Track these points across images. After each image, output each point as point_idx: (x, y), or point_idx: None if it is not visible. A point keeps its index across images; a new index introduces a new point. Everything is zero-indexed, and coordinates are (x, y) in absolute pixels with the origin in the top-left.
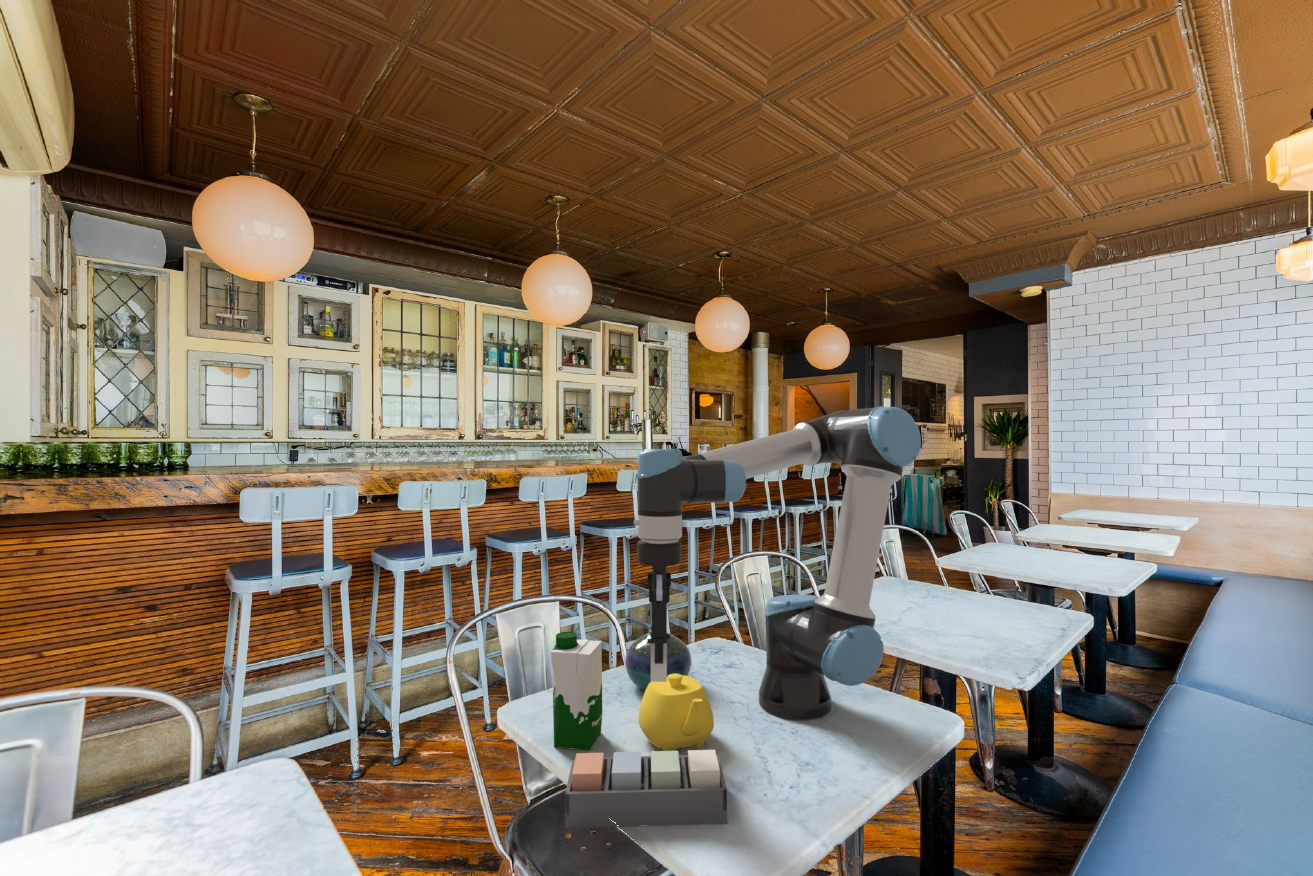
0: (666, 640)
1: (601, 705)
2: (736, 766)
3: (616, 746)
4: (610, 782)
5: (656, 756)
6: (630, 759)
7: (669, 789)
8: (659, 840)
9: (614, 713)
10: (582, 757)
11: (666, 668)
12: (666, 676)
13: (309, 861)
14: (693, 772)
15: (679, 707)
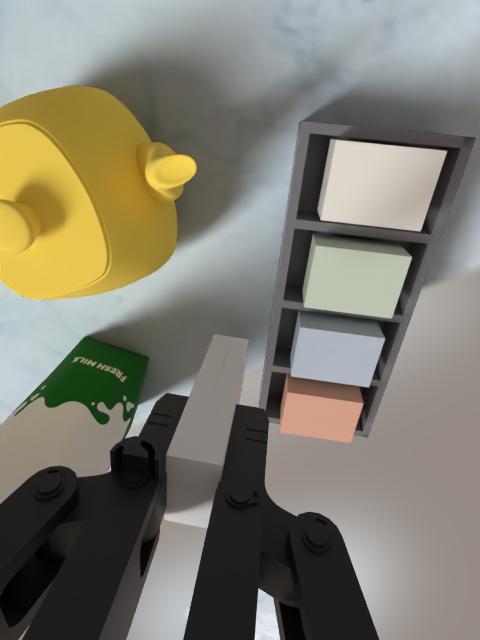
0: (327, 535)
1: (78, 376)
2: (227, 51)
3: (133, 314)
4: None
5: (330, 299)
6: (326, 350)
7: (419, 275)
8: (437, 278)
9: (4, 306)
10: (296, 425)
11: (241, 371)
12: (245, 351)
13: None
14: (422, 224)
15: (129, 216)
